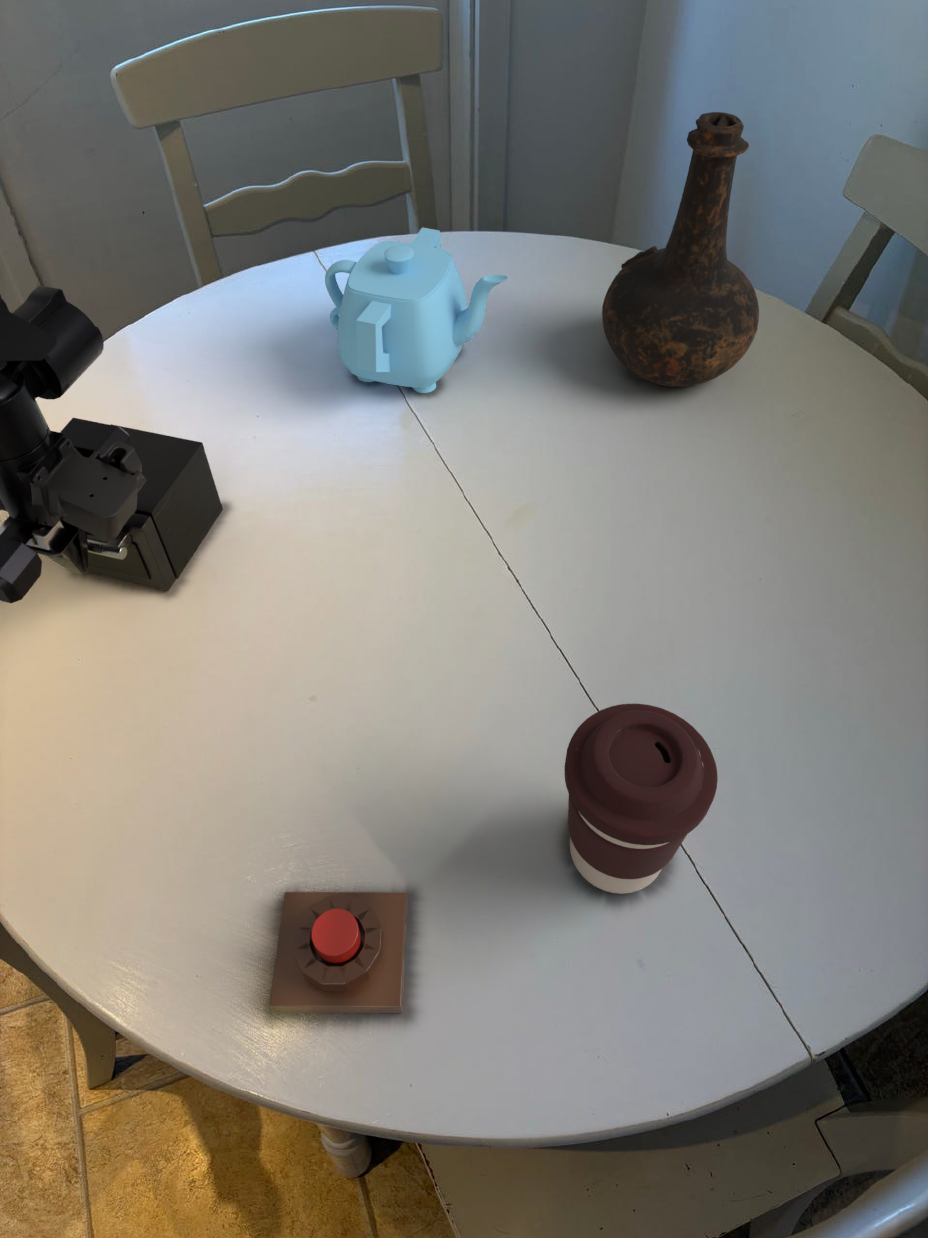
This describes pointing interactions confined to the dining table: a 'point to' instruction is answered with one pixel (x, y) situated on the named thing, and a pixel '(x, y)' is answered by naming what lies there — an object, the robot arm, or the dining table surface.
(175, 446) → the oven
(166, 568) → the oven door
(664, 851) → the coffee cup
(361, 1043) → the dining table surface
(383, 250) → the teapot
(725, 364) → the glass bottle
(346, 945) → the button
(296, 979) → the control block
